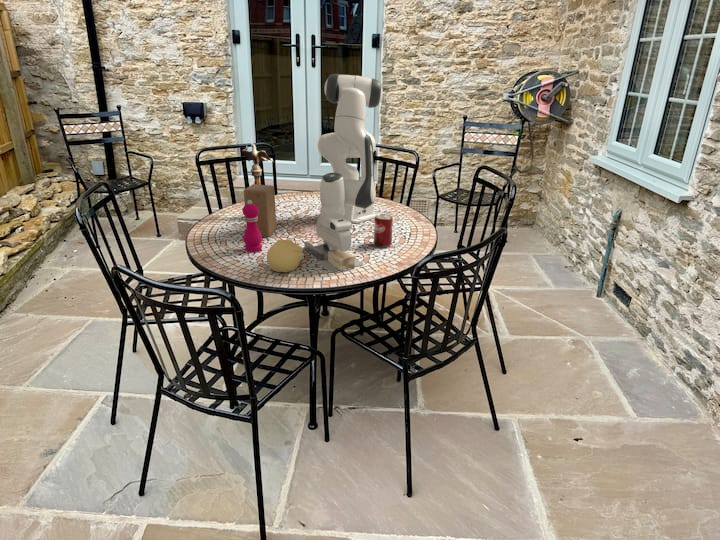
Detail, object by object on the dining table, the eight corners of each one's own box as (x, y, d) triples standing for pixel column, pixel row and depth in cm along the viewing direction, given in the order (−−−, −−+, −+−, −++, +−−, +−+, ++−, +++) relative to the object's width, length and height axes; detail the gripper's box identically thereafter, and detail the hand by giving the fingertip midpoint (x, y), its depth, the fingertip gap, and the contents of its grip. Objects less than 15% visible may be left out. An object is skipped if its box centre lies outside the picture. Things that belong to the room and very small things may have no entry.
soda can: (379, 249, 191) (380, 220, 186) (370, 243, 197) (371, 214, 192) (394, 246, 194) (396, 217, 189) (385, 240, 200) (387, 212, 195)
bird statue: (253, 209, 235) (247, 136, 221) (278, 211, 233) (274, 137, 219) (239, 220, 220) (232, 142, 206) (266, 222, 218) (261, 143, 204)
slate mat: (349, 256, 184) (349, 254, 183) (363, 265, 176) (363, 263, 176) (316, 263, 177) (316, 261, 176) (329, 273, 169) (329, 271, 169)
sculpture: (308, 268, 172) (307, 240, 168) (281, 278, 164) (279, 249, 160) (288, 259, 180) (287, 232, 175) (261, 268, 172) (259, 240, 167)
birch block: (342, 258, 180) (342, 248, 178) (354, 266, 173) (354, 256, 171) (328, 261, 177) (327, 251, 175) (340, 270, 170) (340, 259, 169)
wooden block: (269, 238, 200) (265, 191, 192) (246, 236, 202) (242, 189, 193) (277, 230, 209) (274, 185, 201) (255, 228, 211) (252, 183, 202)
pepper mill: (242, 247, 190) (238, 198, 182) (260, 245, 192) (257, 196, 184) (246, 254, 184) (241, 203, 176) (264, 251, 186) (261, 201, 178)
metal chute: (326, 245, 194) (325, 237, 192) (343, 256, 183) (343, 249, 182) (304, 249, 189) (304, 242, 188) (321, 261, 178) (321, 254, 177)
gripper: (311, 212, 180) (312, 247, 186) (338, 228, 164) (339, 265, 170) (326, 210, 183) (327, 244, 189) (354, 225, 167) (354, 262, 173)
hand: (333, 254), depth 179 cm, fingers closed
